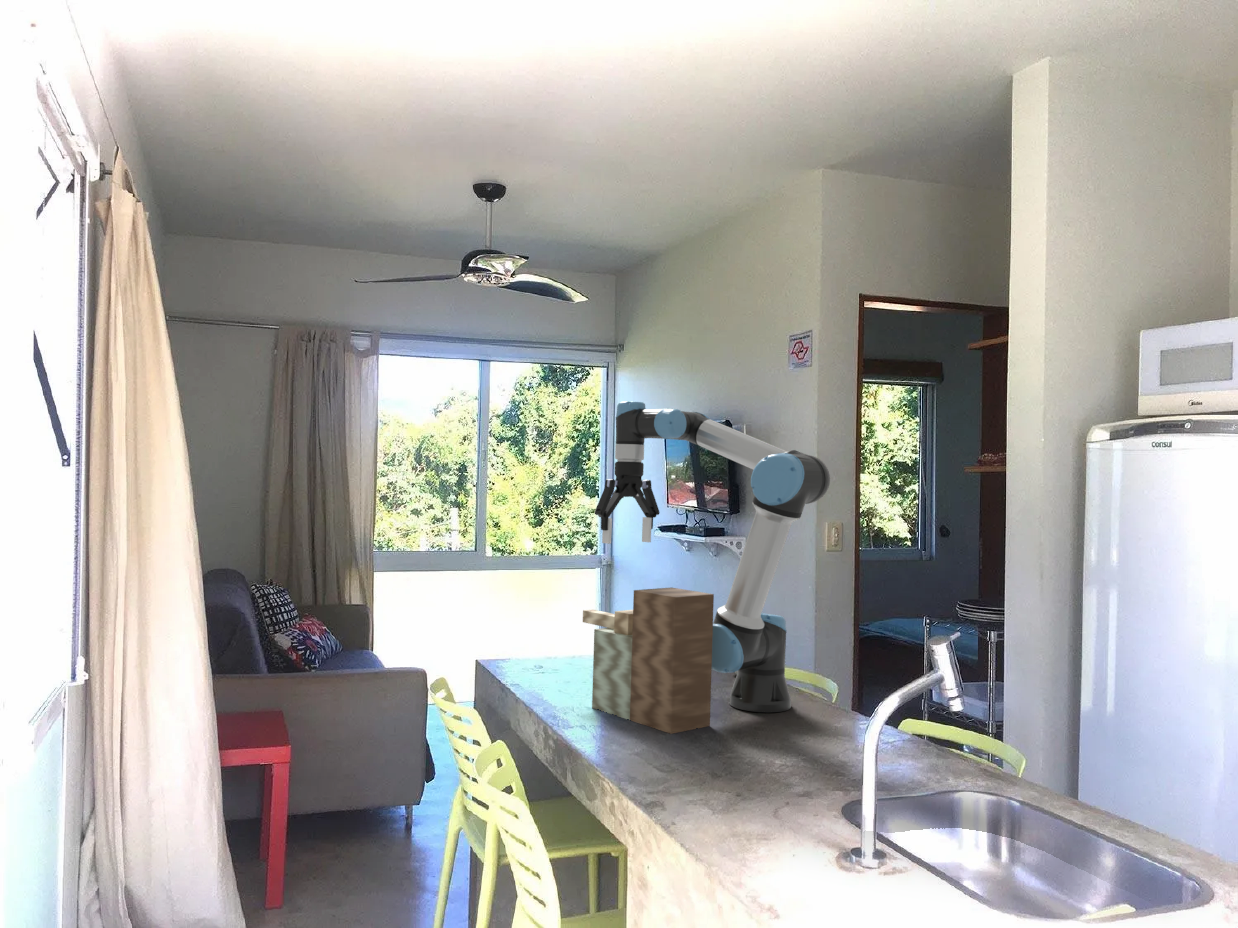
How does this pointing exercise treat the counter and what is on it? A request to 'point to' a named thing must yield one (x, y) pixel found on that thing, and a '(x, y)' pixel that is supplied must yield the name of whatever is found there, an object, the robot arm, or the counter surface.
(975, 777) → the counter surface
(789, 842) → the counter surface
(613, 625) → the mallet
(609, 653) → the step stand
